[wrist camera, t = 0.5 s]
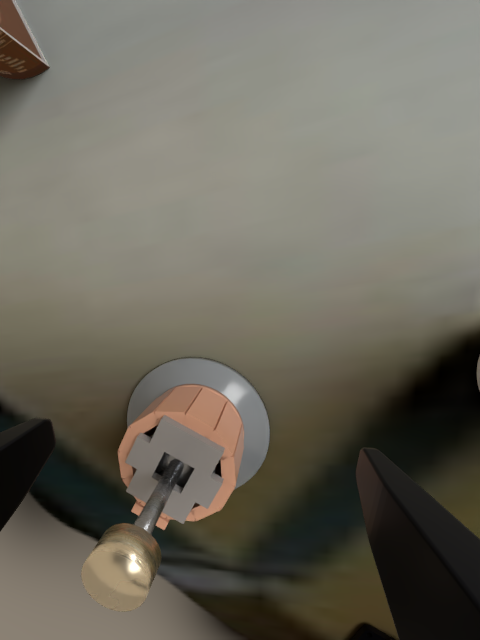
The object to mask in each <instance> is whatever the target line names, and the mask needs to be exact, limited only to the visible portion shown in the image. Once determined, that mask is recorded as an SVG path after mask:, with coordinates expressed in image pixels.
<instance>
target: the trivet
mask: <svg viewBox="0 0 480 640" xmlns="http://www.w3.org/2000/svg"><path fill="white" fill-rule="evenodd" d="M183 384H200V385H205V386H208V387H211V388H213V389H215V390H217V391H219V392H221V393H222V394H223V395H225V396H226V397H227V398H228V399H229V400H230V401H231V402H232V403H233V404H234V406H235V407H236V408H237V410H238V412H239V414H240V416H241V418H242V421H243V425H244V450H243V454H242V459H241V463H240V468H239V473H238V477H237V482H236V486H235V488H234V489H236V488H237V487H239V486H241V485H243V484H244V483H246V482H247V481H248V480H249V479H251V478H252V477H253V475H254V474H255V473H256V472H257V471H258V469H259V468H260V467H261V465H262V463H263V461H264V459H265V457H266V454H267V451H268V446H269V439H270V424H269V417H268V413H267V410H266V407H265V405H264V402H263V400H262V399H261V397H260V395H259V393H258V392H257V390H256V389H255V388H254V386H253V385H252V384H251V383H250V382H249V381H248V380H247V379H246V378H245V377H244V376H242V375H241V374H240V373H239V372H237V371H236V370H234V369H233V368H231V367H229V366H227V365H225V364H223V363H221V362H218V361H215V360H212V359H207V358H200V357H186V358H179V359H174V360H171V361H168V362H166V363H164V364H162V365H160V366H158V367H157V368H155V369H154V370H152V371H151V372H150V373H149V374H147V375H146V376H145V377H144V378H143V379H142V380H141V381H140V383H139V384H138V385H137V387H136V388H135V390H134V392H133V394H132V396H131V399H130V402H129V406H128V411H127V428H128V427H129V426H130V425H131V424H132V423H133V422H134V421H135V420H136V419H137V418H138V416H139V415H140V414H141V413H142V412H143V411H144V410H145V409H146V408H147V407H148V406H149V405H150V404H151V403H152V402H153V401H154V400H155V399H156V398H158V397H159V396H161V395H162V394H163V393H164V392H166V391H167V390H169V389H171V388H173V387H175V386H178V385H183Z"/></svg>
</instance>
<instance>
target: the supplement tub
mask: <svg viewBox="0 0 480 640" xmlns="http://www.w3.org/2000/svg"><path fill="white" fill-rule="evenodd" d="M477 383H478V388H479V391H480V356H479V359H478V364H477Z"/></svg>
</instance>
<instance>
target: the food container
mask: <svg viewBox="0 0 480 640" xmlns="http://www.w3.org/2000/svg"><path fill="white" fill-rule="evenodd" d="M48 68H50V67H49V65H48V63H47V61H46V59H45V57H44V55H43V53H42V51H41V49H40V47H39V45H38V43H37V41H36V39H35V37H34V36H33V34H32V32H31V30H30V28H29V26H28V24H27V22H26V20H25V18H24V16H23V14H22V12H21V10H20V8H19V6H18V4H17V2H16V0H0V76H2V77H4V78H10V79H26V78H31V77H34V76H36V75H39V74H41V73H42V72H44V71H45V70H47V69H48Z"/></svg>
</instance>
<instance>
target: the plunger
mask: <svg viewBox="0 0 480 640" xmlns="http://www.w3.org/2000/svg"><path fill="white" fill-rule="evenodd" d="M153 435H154V434H152V435H151V436H150V438H152V437H153ZM193 470H194V468H193V467H191V466H189V465H187V464H185V463H184V462H182V461H180V460H178V459H176V458H175V457H173V456H171V455H169V454H168V453H166V452H165V453H164V455H163V457H162V459H161V461H160V463H159V465H158V467H157V469H156V471H155V473H157V474H159V475H161V476H162V477H161V479H160V480H159V482H158V484H157V485H156V487H155V489H154V491H153V492H152V494H151V496H150V498H149V499H148V501H147V503H146V504H145V506H144V508H143V510H142V511H141V513H140V515H139V516H138V518H137V520H136V522H135V523H134V525H133V524H128V523H121V524H116V525H113V526H111V527H110V528H108V529H107V530H106V531H105V533H104V534H103V536H102V537H101V539H100V540H99V542H98V543H97V545H96V546H95V548H94V549H93V551H92V552H91V554H90V555H89V557H88V558H87V560H86V561H85V563H84V565H83V567H82V573H81V575H82V581H83V584H84V587H85V588H86V590H87V592H88V593H89V595H90V596H91V597H92V598H93V599H94V600H95V601H96V602H98V603H99V604H101V605H102V606H104V607H106V608H109V609H111V610H115V611H122V612H125V611H131V610H134V609H136V608H138V607H139V606H141V605H142V604H143V602H144V601H145V599H146V597H147V594H148V592H149V589H150V587H151V585H152V582H153V580H154V578H155V575H156V573H157V570H158V568H159V565H160V562H161V551H160V548H159V545H158V543H157V542H156V540H155V539H154V537H153V536H152V535H151V533H152V531H153V529H154V527H155V525H156V523H157V521H158V519H159V517H160V515H161V513H162V511H163V509H164V507H165V505H166V503H167V501H168V499H169V497H170V495H171V493H172V491H173V489H174V487H175V485H176V484H177V485H178V486H180V487H182V488H184V486H185V484H186V482H187V481H188V479H189V477H190V475H191V473H192V471H193ZM215 470H216V467H215V469H214V471H213V473H215Z"/></svg>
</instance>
